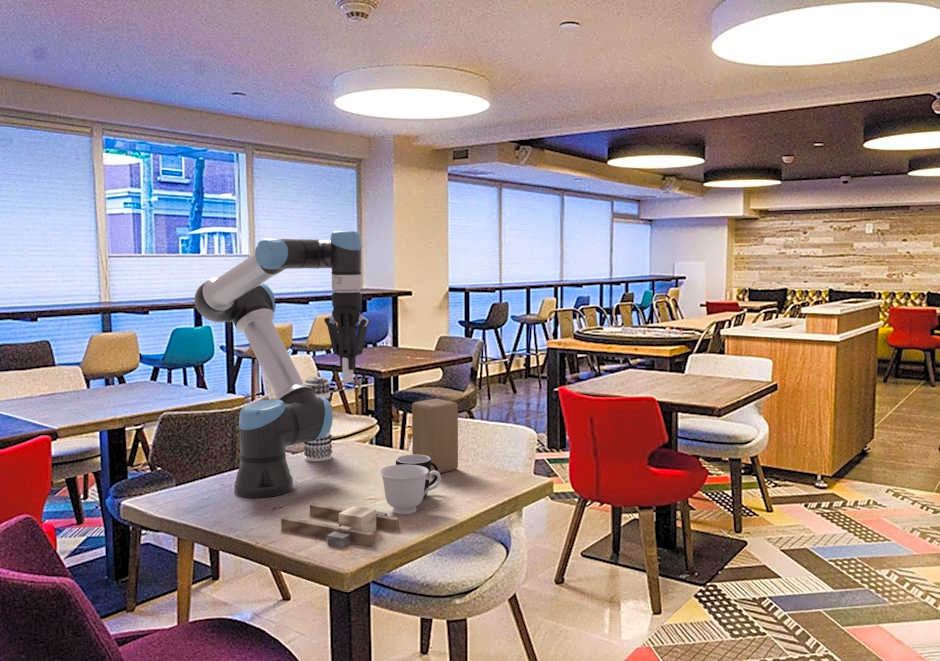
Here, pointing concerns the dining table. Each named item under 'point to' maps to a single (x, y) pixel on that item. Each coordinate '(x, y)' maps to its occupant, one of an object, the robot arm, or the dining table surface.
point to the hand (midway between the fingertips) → (348, 381)
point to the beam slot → (336, 533)
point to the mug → (421, 461)
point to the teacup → (406, 486)
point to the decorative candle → (322, 446)
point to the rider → (359, 518)
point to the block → (436, 432)
